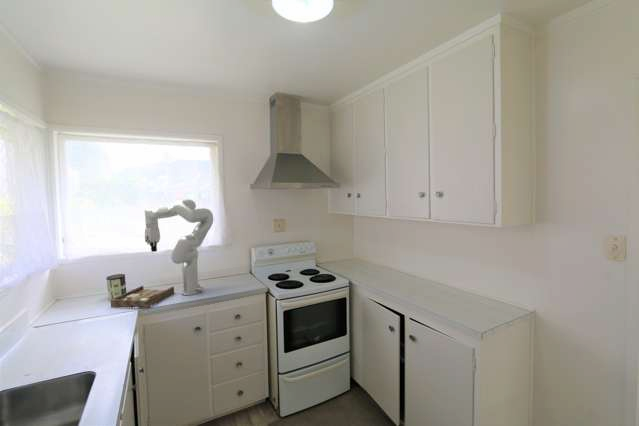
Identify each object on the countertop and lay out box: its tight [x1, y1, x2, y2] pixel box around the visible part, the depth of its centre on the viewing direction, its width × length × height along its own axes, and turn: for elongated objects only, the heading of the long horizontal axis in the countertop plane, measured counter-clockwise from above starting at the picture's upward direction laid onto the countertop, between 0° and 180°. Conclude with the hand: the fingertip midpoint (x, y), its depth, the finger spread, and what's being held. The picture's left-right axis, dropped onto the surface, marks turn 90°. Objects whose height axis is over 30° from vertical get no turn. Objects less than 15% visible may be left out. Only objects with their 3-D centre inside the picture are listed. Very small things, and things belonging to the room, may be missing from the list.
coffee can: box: [105, 273, 128, 300], centre depth 194 cm, size 10×10×14 cm
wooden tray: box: [109, 285, 175, 309], centre depth 187 cm, size 24×25×4 cm
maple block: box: [126, 294, 140, 300], centre depth 179 cm, size 5×5×4 cm
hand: (154, 251), depth 206 cm, fingers closed
